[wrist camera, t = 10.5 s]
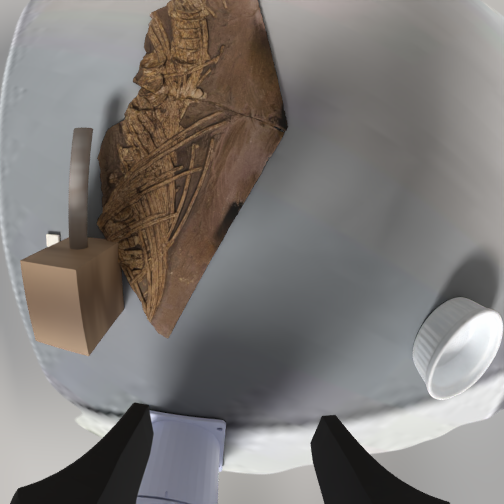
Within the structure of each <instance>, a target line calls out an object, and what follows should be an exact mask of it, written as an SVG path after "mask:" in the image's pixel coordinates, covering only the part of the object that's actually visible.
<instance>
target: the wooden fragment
mask: <svg viewBox="0 0 504 504" xmlns="http://www.w3.org/2000/svg"><path fill="white" fill-rule="evenodd" d="M150 17H151V18H152V20H151V22H150V23H149V24H148V25H149V29H148V33H147V34H146V38H145V43H144V48H145V51H146V52H147V53H146V55H145V56H144V57H143V60H141V62H140V67H139V71H138V73H137V75H136V76H135V77H134V79H133V82H134V83H136V84H138V85H139V86H141V89H140V90H139V93H138V95H137V97H136V98H134V99H133V100H132V102H131V103H130V104H129V106H128V109H127V110H126V112H125V114H124V115H125V120H123V121H121V122H120V123H118V124H116V125H114V126H112V127H111V128H109V129H108V130H107V132H106V134H105V137H104V139H103V141H102V145H101V149H100V153H99V155H98V158H97V159H98V161H99V165H100V169H101V172H100V178H101V182H102V184H101V190H102V193H103V197H102V205H103V213H102V214H101V216H100V217H99V218H98V222H97V225H98V227H99V228H100V230H101V231H102V233H103V234H104V237H105V239H106V241H111V242H119V243H118V263H119V264H120V266H121V268H122V270H123V272H124V273H125V276H126V278H127V280H128V282H129V284H130V286H131V288H132V290H134V292H135V293H136V294H137V296H138V298H139V300H140V301H141V302H142V307H143V310H144V312H145V314H146V316H147V319H148V320H149V322H150V323H151V324H152V325H153V326H154V327H155V329H156V331H157V332H158V333H159V334H161V335H163V336H164V337H166V338H169V336H170V334H171V332H172V330H173V328H174V327H175V325H176V323H177V321H178V319H179V317H180V315H181V314H182V312H183V310H184V308H185V306H186V304H187V302H188V301H189V299H190V297H191V295H192V293H193V291H194V290H195V288H196V286H197V284H198V282H199V280H200V279H201V277H202V275H203V273H204V271H205V270H206V268H207V266H208V264H209V262H210V260H211V259H212V257H213V255H214V254H215V252H216V250H217V249H218V247H219V245H220V243H221V242H222V240H223V238H224V236H225V234H226V233H227V230H228V228H229V227H230V225H231V224H232V222H233V220H234V219H235V217H236V216H237V214H238V212H239V210H240V208H241V207H242V205H243V204H244V202H245V200H246V198H247V196H248V195H249V193H250V192H251V189H252V188H253V187H254V184H255V183H256V181H257V179H258V178H259V176H260V175H261V173H262V170H263V167H264V166H265V165H266V161H268V157H271V156H272V154H273V152H274V151H275V149H276V147H277V145H278V144H279V142H280V140H281V139H282V137H283V135H284V132H281V131H280V130H281V129H282V130H283V131H286V130H287V127H288V126H287V120H286V116H285V111H284V107H283V101H282V96H281V93H280V88H279V83H278V78H277V74H276V70H275V68H274V62H273V58H272V54H271V49H270V46H269V41H268V38H267V32H266V31H265V25H264V22H263V19H262V18H263V17H262V15H261V13H260V8H259V3H258V0H171V1H169V2H168V3H167V6H165V7H163V8H160V9H158V10H156V11H154V12H152V13H151V14H150ZM274 126H276V127H278V128H280V130H278V129H276V128H273V127H274Z"/></svg>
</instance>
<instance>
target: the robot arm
mask: <svg viewBox="0 0 504 504" xmlns="http://www.w3.org/2000/svg"><path fill="white" fill-rule="evenodd" d="M225 430H226V422H225V421H223V420H217V419H207V418H197V417H189V416H182V415H175V414H168V413H162V412H156V411H151V410H149V405H144V404H139V403H133V404H132V405H131V407H130V408H129V409H128V410H127V412H126V413H125V414H124V415H123V417H122V418H121V419H120V420H119V421H118V422H117V424H116V425H115V426H114V427H113V428H112V429H111V430H110V431H109V432H108V433H107V434H106V435H105V436H104V437H103V438H102V439H101V440H100V441H99V442H98V443H97V444H96V445H95V446H94V447H93V448H92V449H90V450H89V451H88V452H87V453H86V454H84V455H83V456H82V457H81V458H79V459H78V460H76V461H75V462H74V463H72V464H70V465H69V466H67V467H66V468H64V469H63V470H61V471H59V472H57V473H56V474H53V475H52V476H49V477H47V478H45V479H43V480H41V481H38V482H36V483H33V484H30V485H27V486H24V487H21V488H18V489H17V491H16V493H15V494H14V496H13V498H12V501H11V503H10V504H218V475H219V473H218V472H220V471H222V463H223V452H224V441H225ZM311 451H312V459H313V464H314V467H315V471H316V475H317V479H318V482H319V486H320V489H321V493H322V496H323V500H324V504H450V503H449V502H447V501H444V500H441V499H438V498H435V497H432V496H430V495H428V494H425V493H423V492H421V491H419V490H417V489H415V488H413V487H412V486H410V485H408V484H406V483H405V482H403V481H401V480H400V479H398V478H397V477H395V476H394V475H393V474H391V473H390V472H389V471H387V470H386V469H385V468H384V467H383V466H381V465H380V464H379V463H378V462H377V461H376V460H375V459H374V458H373V457H372V456H371V455H370V454H369V453H368V452H367V451H366V450H365V449H364V448H363V447H362V446H361V445H360V444H359V443H358V442H357V440H356V439H355V438H354V437H353V436H352V435H351V433H350V432H349V431H348V430H347V429H346V427H345V426H344V425H343V424H342V423H341V421H340V420H339V419H338V418H337V416H336V415H329V416H322V417H321V420H320V422H319V424H318V427H317V429H316V432H315V434H314V436H313V438H312V441H311Z"/></svg>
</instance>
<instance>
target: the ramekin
mask: <svg viewBox="0 0 504 504" xmlns="http://www.w3.org/2000/svg"><path fill="white" fill-rule="evenodd" d="M502 334H503V321H502V318H501V316H500V314H499V313H498V312H497V311H495V310H493V309H490V308H485V307H484V306H482V305H480V304H478V303H476V302H474V301H472V300H470V299H467V298H464V297H457V298H453V299H450V300H448V301H446V302H445V303H443V304H442V305H440V306H439V307H438V308H436V309H435V310H434V311H433V312H432V313H431V314H430V316H429V317H428V318H427V319H426V321H425V322H424V323H423V325H422V327H421V328H420V330H419V332H418V334H417V337H416V339H415V342H414V346H413V360H414V364H415V366H416V368H417V370H418V371H419V373H420V375H421V376H422V378H423V380H424V381H425V383H426V387H427V390H428V392H429V394H430V395H431V396H432V397H433V398H435V399H440V400H442V399H449V398H452V397H455V396H457V395H459V394H461V393H462V392H464V391H465V390H467V389H468V388H469V387H470V386H472V385H473V384H474V383H475V382H476V381H477V380H478V379H479V378H480V377H481V376H482V375H483V373H484V372H485V371H486V370H487V368H488V367H489V365H490V364H491V362H492V360H493V359H494V357H495V355H496V353H497V351H498V349H499V346H500V343H501V339H502Z"/></svg>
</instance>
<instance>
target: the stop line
mask: <svg viewBox="0 0 504 504" xmlns="http://www.w3.org/2000/svg"><path fill="white" fill-rule="evenodd" d="M46 238H47V247H49V246H51V245H53V244H56V243H58V242H60V235H56V234H46Z"/></svg>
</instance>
